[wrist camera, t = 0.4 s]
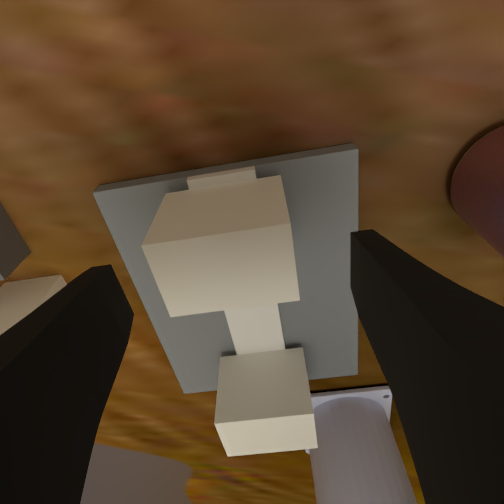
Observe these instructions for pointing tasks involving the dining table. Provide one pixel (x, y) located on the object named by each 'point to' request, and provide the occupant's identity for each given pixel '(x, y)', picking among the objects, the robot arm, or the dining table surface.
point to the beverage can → (482, 188)
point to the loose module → (25, 297)
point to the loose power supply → (10, 245)
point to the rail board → (313, 258)
